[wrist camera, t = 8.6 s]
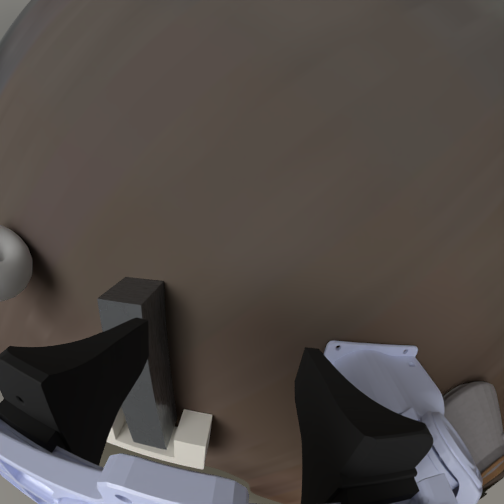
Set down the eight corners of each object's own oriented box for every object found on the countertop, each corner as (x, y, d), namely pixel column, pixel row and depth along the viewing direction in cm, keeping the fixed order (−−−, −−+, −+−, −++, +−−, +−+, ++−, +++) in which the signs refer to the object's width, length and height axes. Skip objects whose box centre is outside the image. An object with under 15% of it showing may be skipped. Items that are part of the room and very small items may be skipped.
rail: (164, 280, 22) (140, 305, 17) (177, 416, 26) (166, 449, 21) (126, 276, 22) (97, 298, 17) (147, 410, 26) (133, 441, 21)
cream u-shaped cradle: (212, 414, 25) (205, 446, 21) (209, 439, 27) (203, 469, 22) (102, 385, 25) (84, 410, 21) (108, 412, 27) (93, 436, 22)
